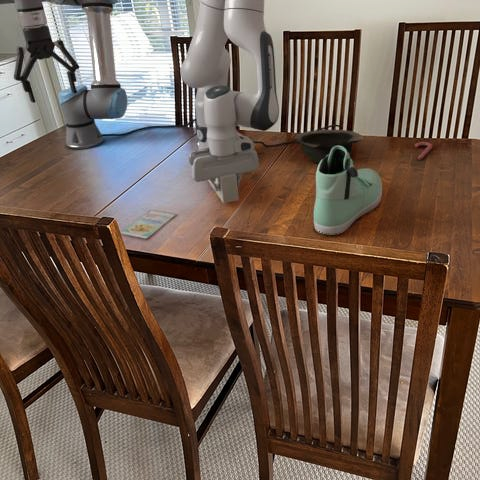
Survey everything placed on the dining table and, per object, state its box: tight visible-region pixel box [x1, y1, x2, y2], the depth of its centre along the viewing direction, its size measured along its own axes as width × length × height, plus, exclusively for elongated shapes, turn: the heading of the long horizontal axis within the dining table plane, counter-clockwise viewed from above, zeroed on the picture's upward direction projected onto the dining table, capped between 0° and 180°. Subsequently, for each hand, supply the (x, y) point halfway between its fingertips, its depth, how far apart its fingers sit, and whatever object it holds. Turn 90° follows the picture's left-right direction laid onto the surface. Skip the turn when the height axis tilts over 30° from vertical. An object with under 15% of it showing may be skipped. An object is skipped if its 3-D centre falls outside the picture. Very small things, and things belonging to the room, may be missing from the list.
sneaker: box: [313, 146, 383, 236], centre depth 133 cm, size 14×35×20 cm, turn 152°
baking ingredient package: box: [120, 209, 176, 239], centre depth 139 cm, size 9×1×15 cm
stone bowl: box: [292, 129, 365, 164], centre depth 172 cm, size 25×25×9 cm
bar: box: [207, 173, 239, 204], centre depth 152 cm, size 22×5×8 cm, turn 18°
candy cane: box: [414, 141, 434, 161], centre depth 170 cm, size 6×15×2 cm, turn 145°
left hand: (54, 97), depth 155 cm, fingers open, 13 cm apart
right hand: (227, 188), depth 146 cm, fingers closed on bar, 5 cm apart
